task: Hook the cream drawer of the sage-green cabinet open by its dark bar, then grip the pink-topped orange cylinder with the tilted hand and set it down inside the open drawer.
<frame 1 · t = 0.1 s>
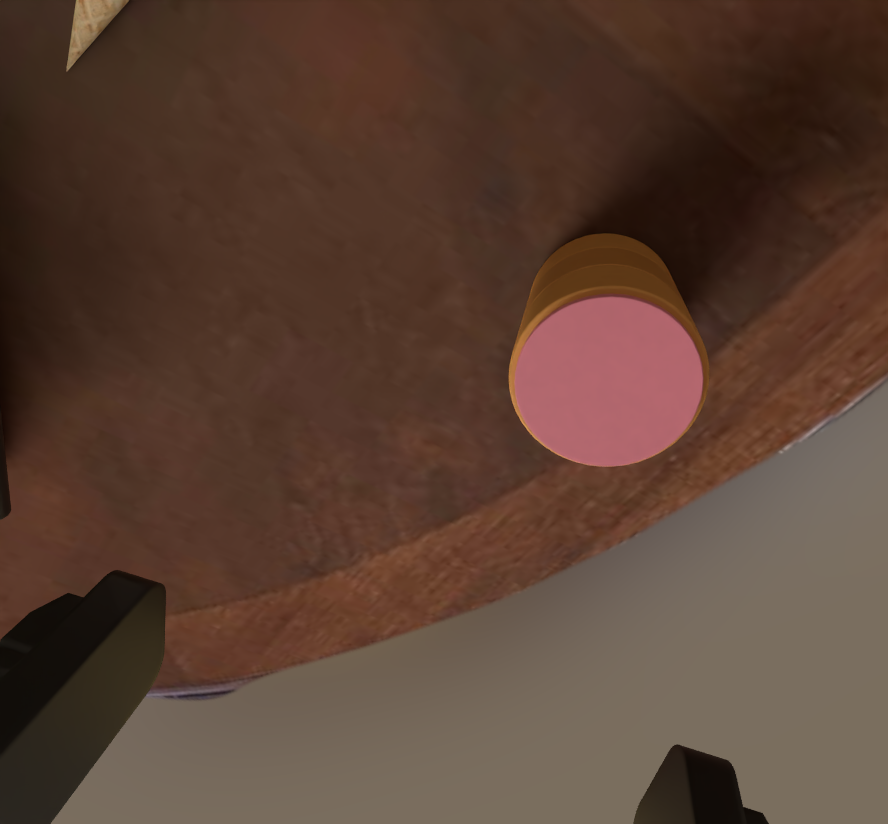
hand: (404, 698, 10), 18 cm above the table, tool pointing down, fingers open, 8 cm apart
pink-topped orange cylinder: (600, 305, 25), on the table
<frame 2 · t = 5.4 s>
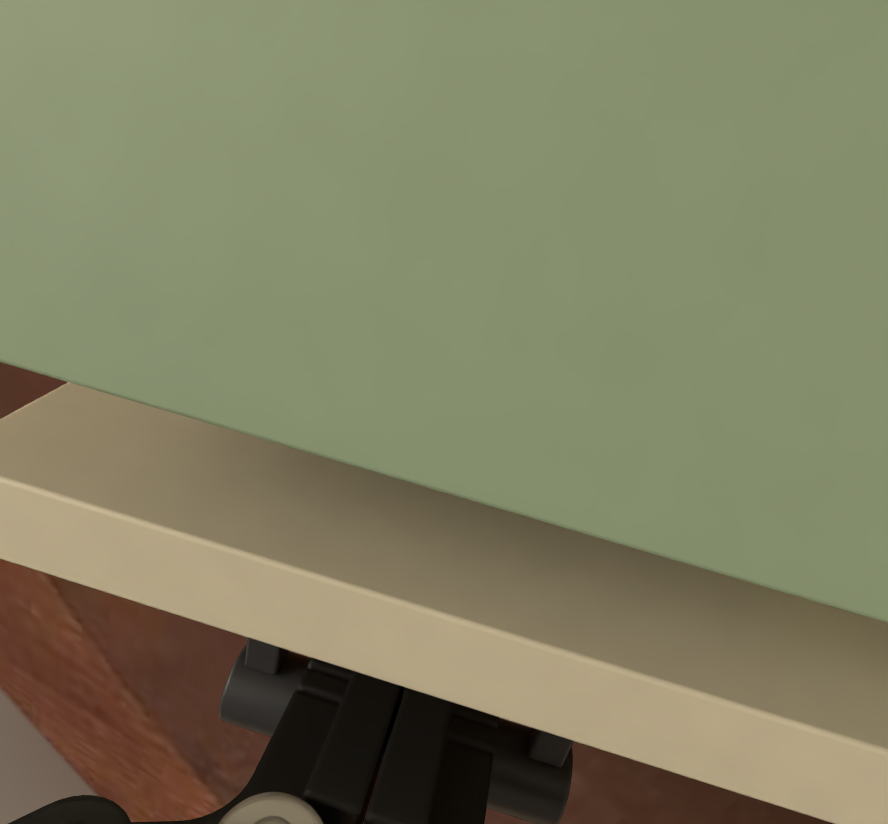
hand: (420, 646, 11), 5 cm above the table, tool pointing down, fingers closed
drawer: (531, 248, 9), point 5 cm above the table, slide at 2.0 cm
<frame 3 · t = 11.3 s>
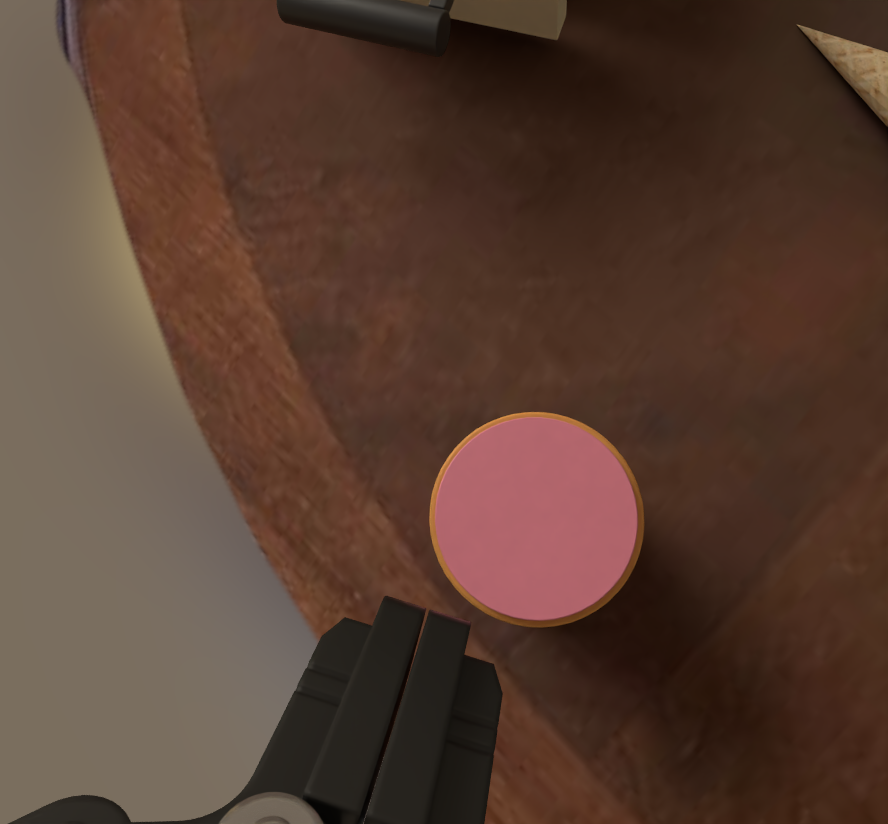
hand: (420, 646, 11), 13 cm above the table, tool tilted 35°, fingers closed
pink-topped orange cylinder: (536, 522, 24), on the table
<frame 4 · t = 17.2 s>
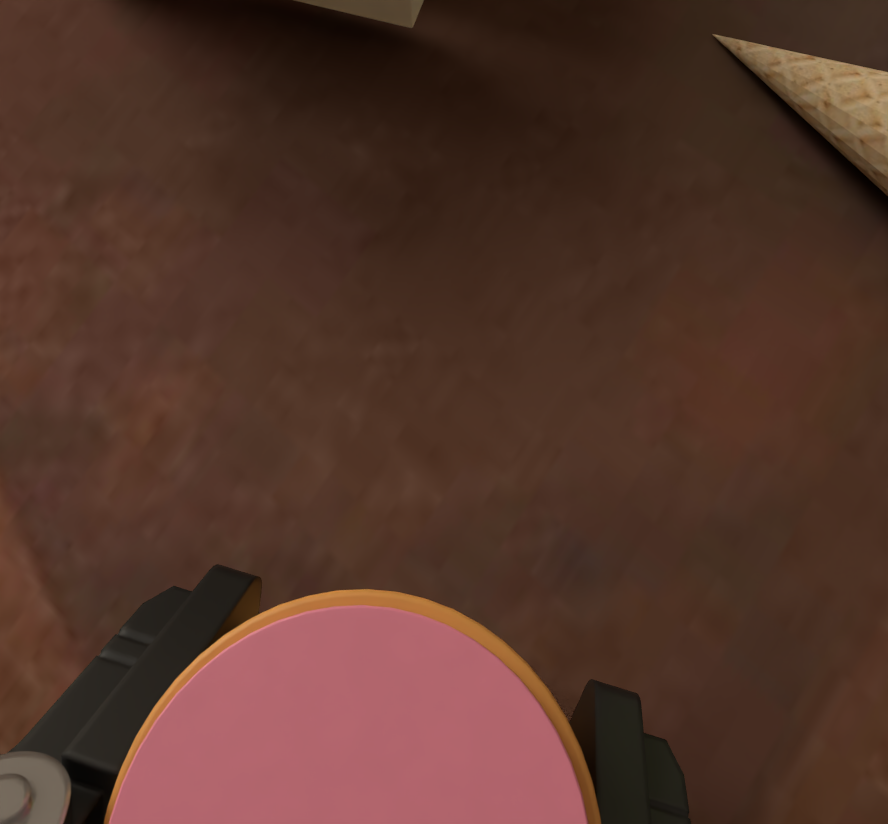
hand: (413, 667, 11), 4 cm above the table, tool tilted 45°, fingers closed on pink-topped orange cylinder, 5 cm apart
pink-topped orange cylinder: (394, 742, 14), on the table, touching gripper
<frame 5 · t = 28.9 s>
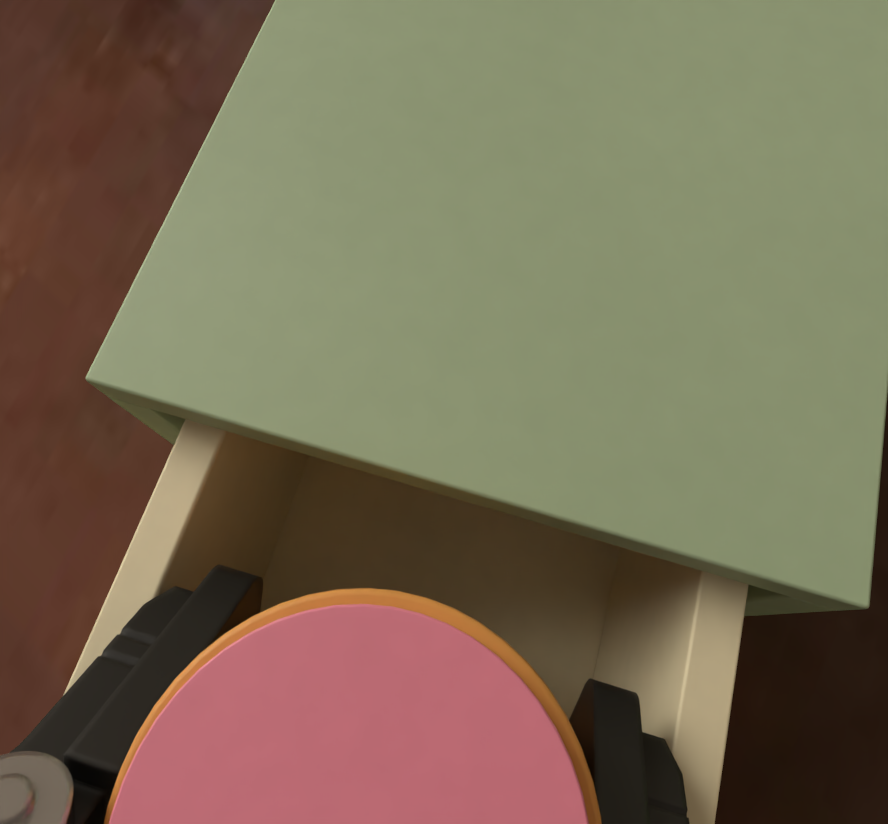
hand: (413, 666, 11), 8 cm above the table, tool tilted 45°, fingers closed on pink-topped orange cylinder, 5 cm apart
cabinet: (511, 331, 21), on the table
drawer: (366, 823, 13), point 5 cm above the table, slide at 8.9 cm, touching gripper
pink-topped orange cylinder: (394, 741, 14), point 3 cm above the table, touching gripper
when the fingers open (9 cm above the table, at t = 33.1 s): pink-topped orange cylinder drops 2 cm, resting on drawer.
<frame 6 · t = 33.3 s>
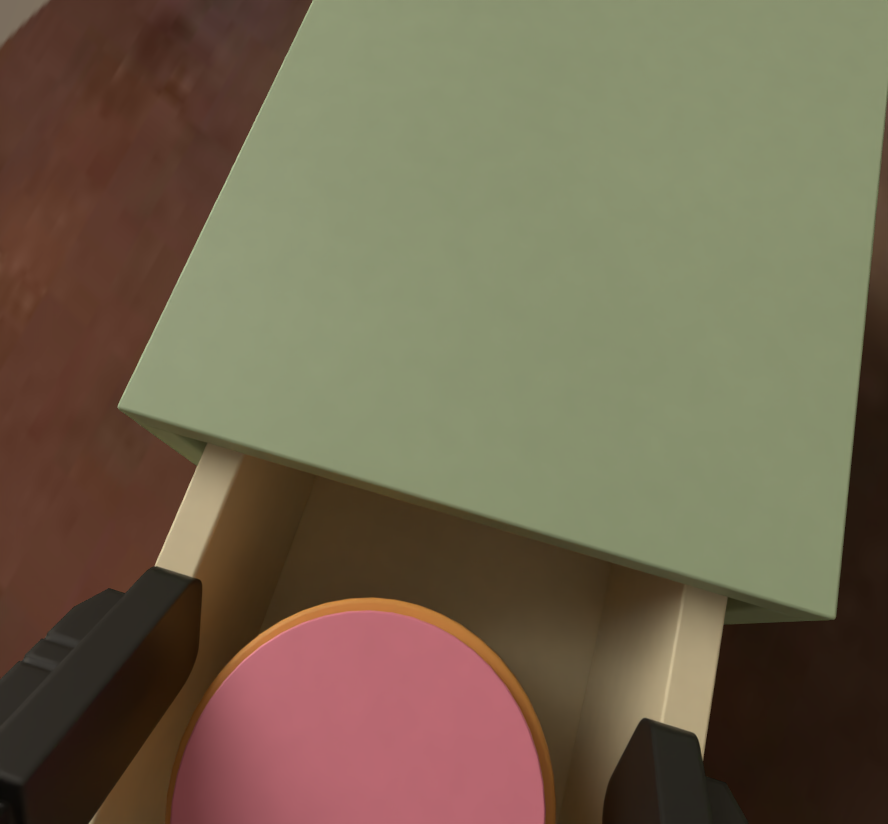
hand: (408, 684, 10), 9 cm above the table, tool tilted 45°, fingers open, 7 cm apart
cabinet: (510, 349, 22), on the table
drawer: (378, 806, 14), point 5 cm above the table, slide at 8.7 cm, touching pink-topped orange cylinder
pink-topped orange cylinder: (394, 727, 17), point 2 cm above the table, touching drawer
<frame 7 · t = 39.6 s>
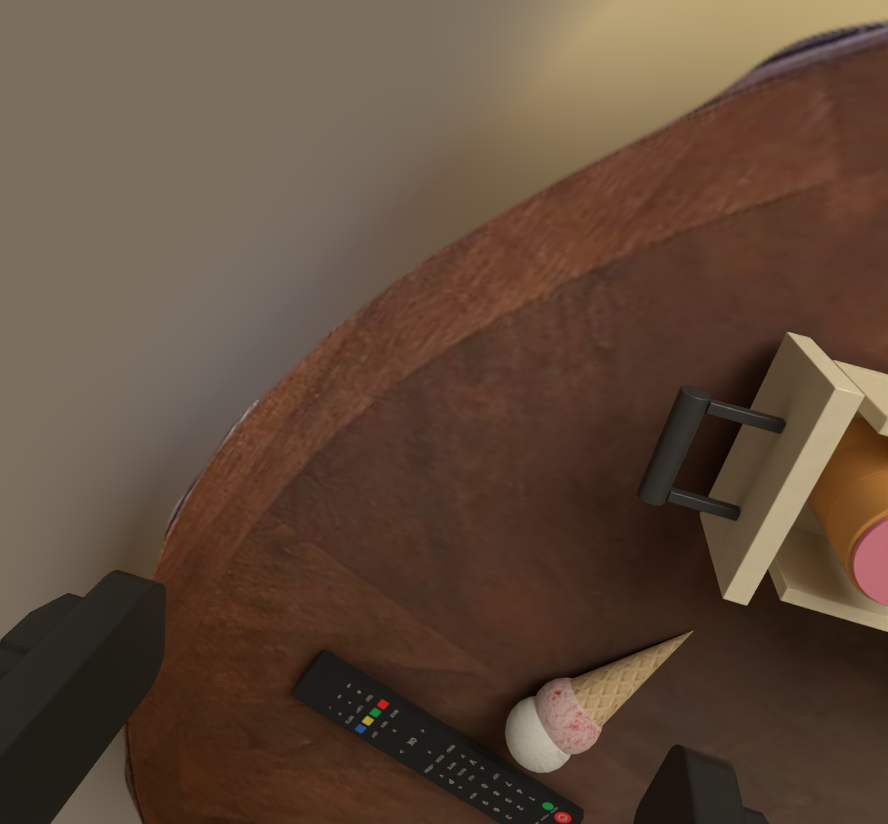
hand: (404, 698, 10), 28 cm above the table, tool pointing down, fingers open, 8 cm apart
drawer: (843, 487, 32), point 5 cm above the table, slide at 8.7 cm, touching pink-topped orange cylinder
pink-topped orange cylinder: (851, 465, 34), point 2 cm above the table, touching drawer
remote control: (443, 740, 52), on the table
ice cream cone: (600, 678, 46), on the table
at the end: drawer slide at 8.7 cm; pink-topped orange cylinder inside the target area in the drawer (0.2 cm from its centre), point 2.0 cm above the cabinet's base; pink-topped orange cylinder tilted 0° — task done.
